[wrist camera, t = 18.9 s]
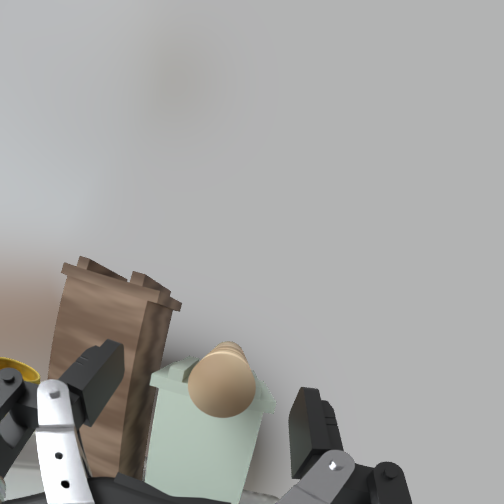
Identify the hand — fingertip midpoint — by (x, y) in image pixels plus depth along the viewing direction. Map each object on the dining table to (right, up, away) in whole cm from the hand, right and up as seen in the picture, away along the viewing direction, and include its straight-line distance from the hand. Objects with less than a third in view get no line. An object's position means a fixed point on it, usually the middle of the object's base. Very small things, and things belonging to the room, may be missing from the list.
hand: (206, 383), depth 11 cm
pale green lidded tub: (-7, -29, +12) cm, 33 cm away
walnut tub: (-19, -27, +12) cm, 35 cm away
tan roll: (-2, -8, +15) cm, 17 cm away
